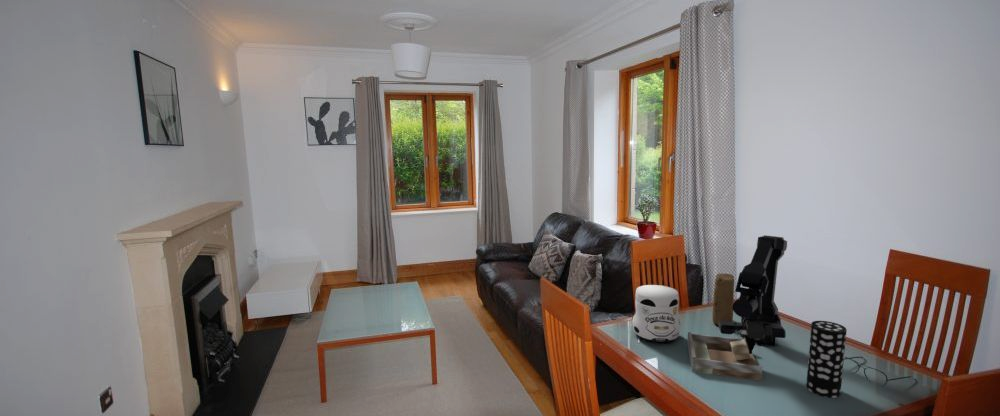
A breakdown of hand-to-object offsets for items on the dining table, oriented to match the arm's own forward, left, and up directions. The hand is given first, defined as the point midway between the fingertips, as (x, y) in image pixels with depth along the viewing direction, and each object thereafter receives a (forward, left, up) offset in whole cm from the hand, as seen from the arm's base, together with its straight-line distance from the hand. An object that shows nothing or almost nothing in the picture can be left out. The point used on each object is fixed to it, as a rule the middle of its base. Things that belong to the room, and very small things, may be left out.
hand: (750, 353), depth 150 cm
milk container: (+29, -15, -4) cm, 33 cm away
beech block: (+2, 0, -1) cm, 3 cm away
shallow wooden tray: (+8, 0, -4) cm, 9 cm away
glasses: (-37, -5, -5) cm, 37 cm away
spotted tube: (-18, +11, -4) cm, 21 cm away
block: (+3, -36, -4) cm, 37 cm away
